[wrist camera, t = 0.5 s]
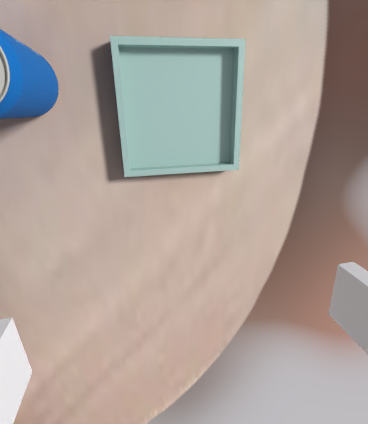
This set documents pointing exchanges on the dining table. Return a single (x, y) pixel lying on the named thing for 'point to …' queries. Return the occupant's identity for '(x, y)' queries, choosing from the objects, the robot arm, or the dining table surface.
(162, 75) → the tray
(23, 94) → the beverage can
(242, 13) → the dining table surface
